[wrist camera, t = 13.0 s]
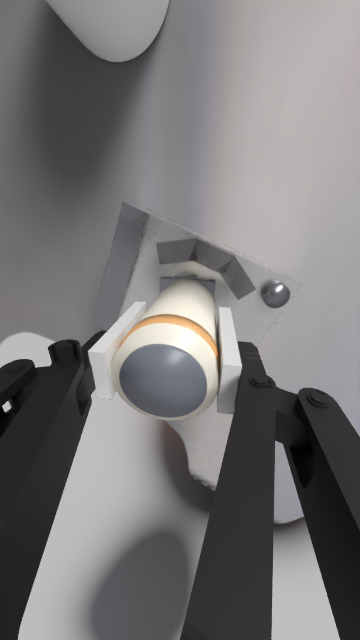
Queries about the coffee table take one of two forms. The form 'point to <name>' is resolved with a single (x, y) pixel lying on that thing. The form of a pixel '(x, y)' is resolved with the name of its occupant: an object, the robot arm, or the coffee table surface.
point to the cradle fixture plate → (188, 273)
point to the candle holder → (113, 25)
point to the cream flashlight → (171, 353)
